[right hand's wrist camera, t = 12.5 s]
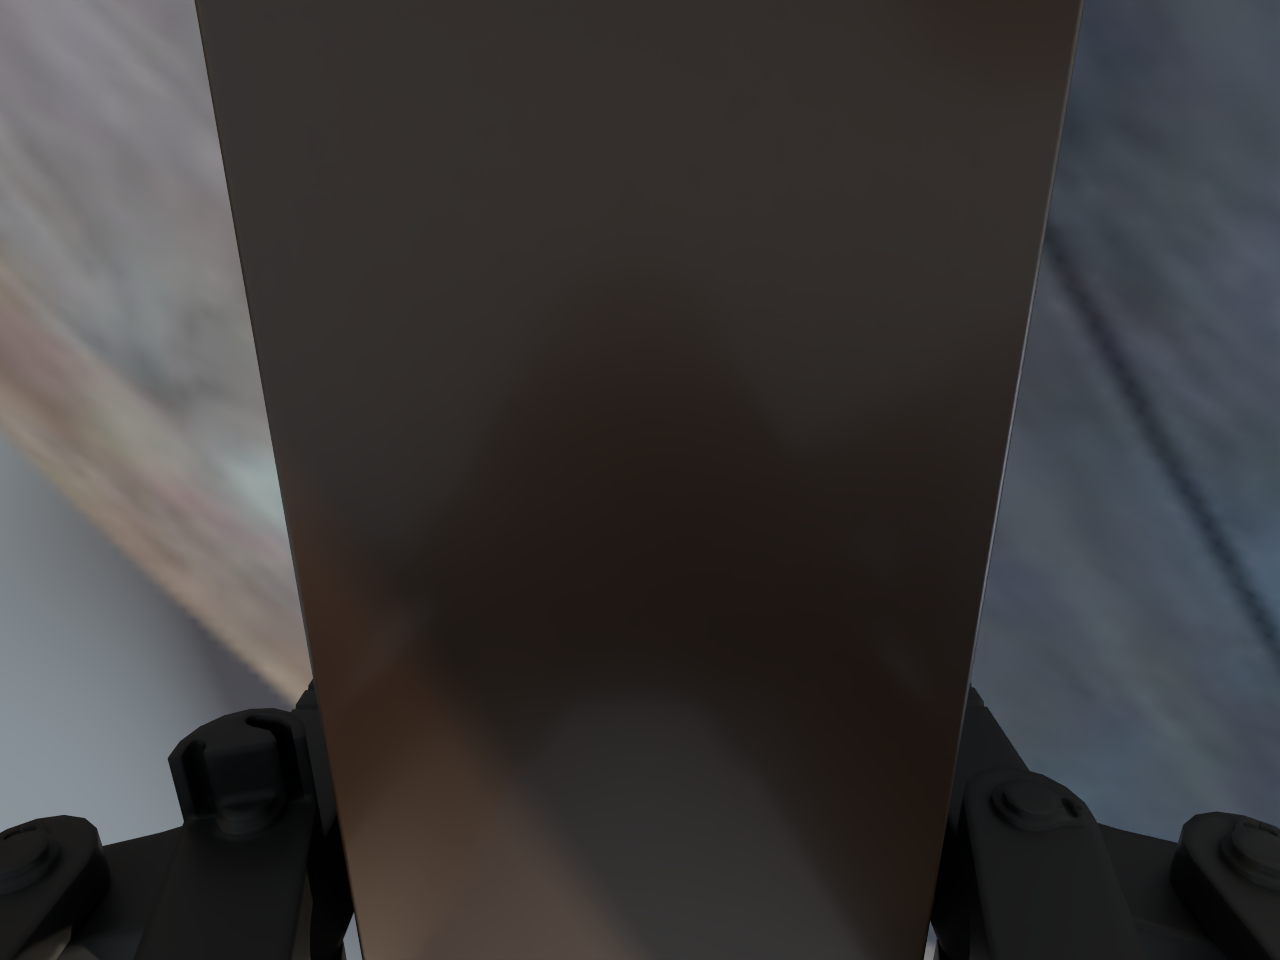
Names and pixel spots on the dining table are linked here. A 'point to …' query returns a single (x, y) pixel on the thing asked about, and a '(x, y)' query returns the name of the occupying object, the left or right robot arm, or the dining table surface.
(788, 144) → the walnut beam
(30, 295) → the dining table surface
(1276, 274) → the dining table surface
